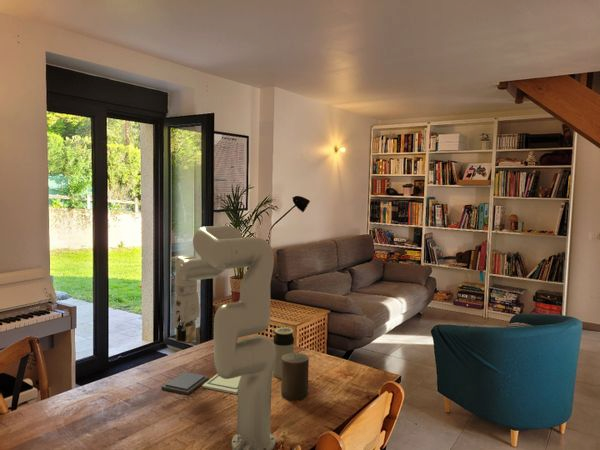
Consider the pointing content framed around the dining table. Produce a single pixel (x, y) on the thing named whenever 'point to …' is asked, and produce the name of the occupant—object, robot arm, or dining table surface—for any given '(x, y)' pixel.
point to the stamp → (189, 332)
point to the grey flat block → (185, 383)
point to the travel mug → (282, 347)
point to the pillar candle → (294, 376)
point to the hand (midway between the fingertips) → (185, 337)
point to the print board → (223, 384)
